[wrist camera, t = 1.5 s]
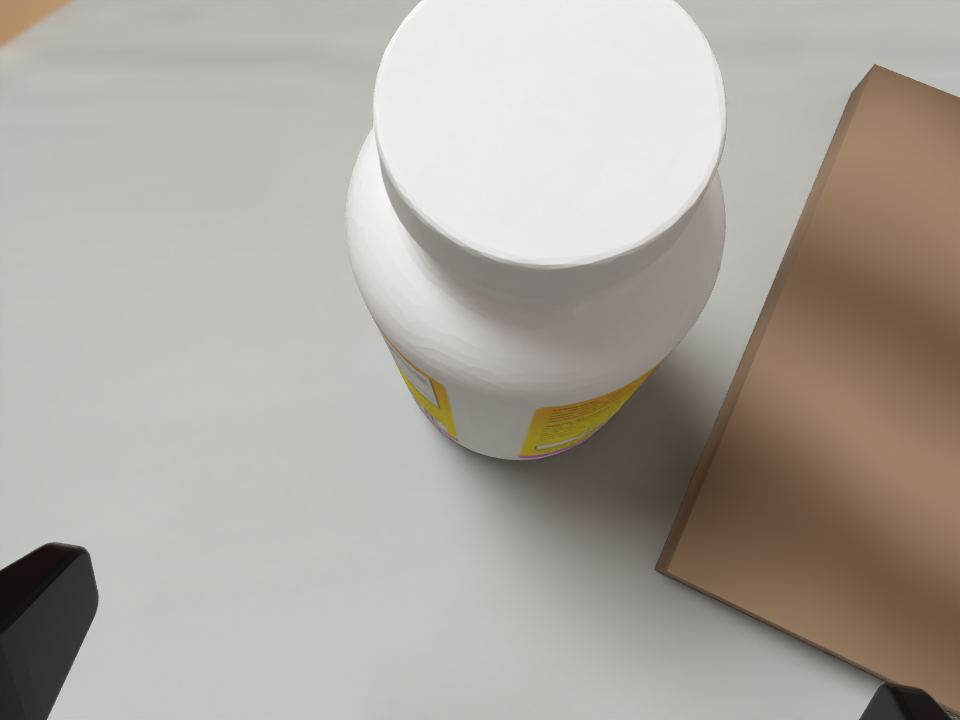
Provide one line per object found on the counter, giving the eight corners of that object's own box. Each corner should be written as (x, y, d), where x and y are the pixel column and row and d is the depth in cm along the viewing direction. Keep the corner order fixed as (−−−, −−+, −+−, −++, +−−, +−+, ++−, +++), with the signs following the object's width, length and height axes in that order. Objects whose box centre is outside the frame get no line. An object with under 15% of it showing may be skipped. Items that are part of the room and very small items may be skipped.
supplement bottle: (658, 280, 23) (864, -36, 11) (593, 495, 22) (743, 424, 9) (444, 213, 24) (399, -164, 11) (367, 418, 22) (215, 251, 10)
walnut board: (976, 725, 20) (1015, 739, 19) (654, 569, 21) (667, 571, 20) (1136, 207, 23) (1179, 184, 22) (851, 92, 24) (875, 64, 23)
